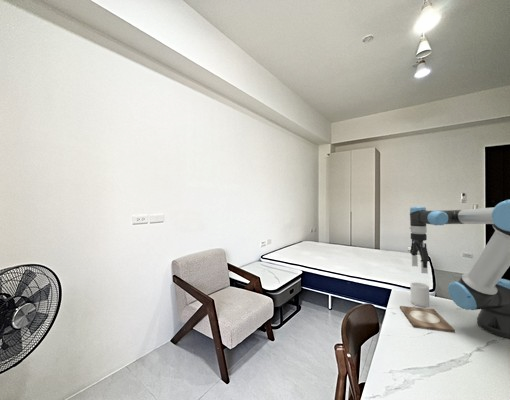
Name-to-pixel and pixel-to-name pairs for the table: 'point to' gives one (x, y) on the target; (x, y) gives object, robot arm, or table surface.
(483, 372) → the table surface
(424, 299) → the mug
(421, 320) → the board
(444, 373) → the table surface
